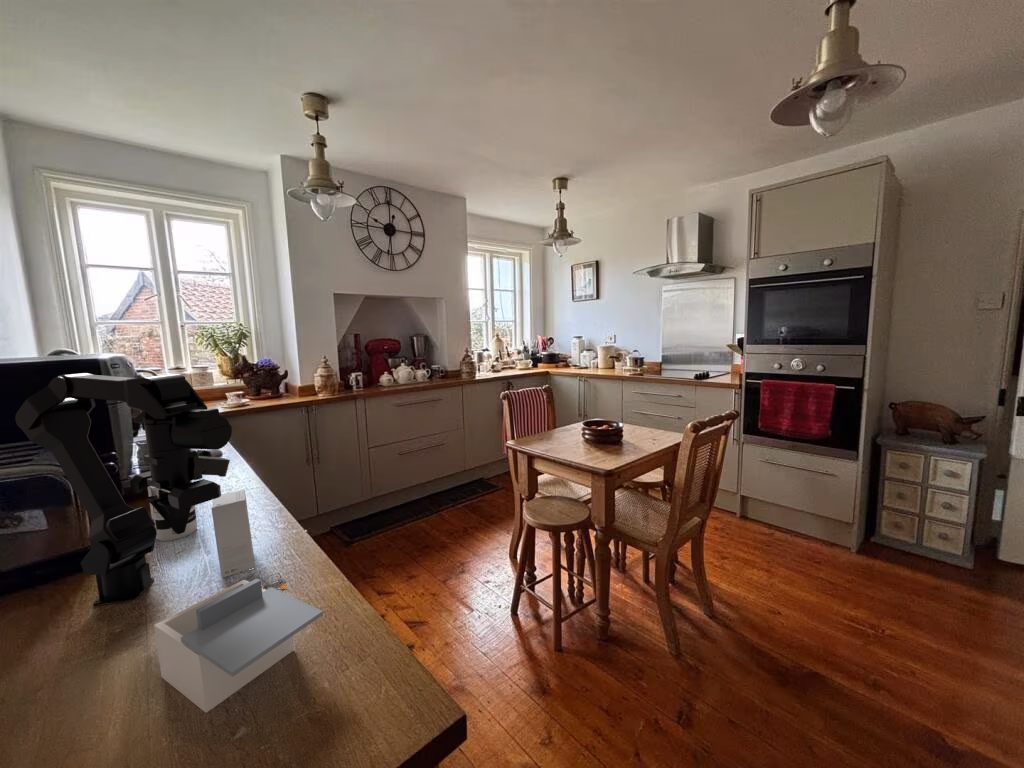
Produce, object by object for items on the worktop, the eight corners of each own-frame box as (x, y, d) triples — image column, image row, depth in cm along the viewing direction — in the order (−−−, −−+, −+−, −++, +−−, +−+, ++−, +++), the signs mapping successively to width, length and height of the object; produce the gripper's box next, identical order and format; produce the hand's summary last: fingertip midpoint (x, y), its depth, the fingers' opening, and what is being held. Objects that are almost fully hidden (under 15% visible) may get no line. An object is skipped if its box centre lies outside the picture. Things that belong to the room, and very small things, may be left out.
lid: (181, 641, 54) (178, 619, 54) (272, 591, 65) (270, 571, 64) (232, 676, 49) (229, 651, 48) (323, 614, 59) (321, 593, 59)
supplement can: (146, 539, 100) (138, 478, 98) (184, 524, 108) (177, 467, 106) (168, 544, 97) (159, 482, 95) (205, 529, 105) (198, 470, 103)
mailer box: (161, 677, 59) (154, 624, 58) (249, 624, 70) (244, 579, 69) (206, 713, 53) (198, 655, 52) (294, 649, 64) (289, 601, 63)
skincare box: (255, 569, 86) (247, 500, 84) (219, 579, 83) (210, 507, 81) (253, 552, 93) (246, 487, 91) (220, 560, 90) (212, 494, 88)
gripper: (248, 442, 75) (256, 525, 77) (195, 431, 84) (204, 506, 86) (174, 459, 65) (186, 553, 67) (123, 445, 74) (135, 529, 76)
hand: (180, 532), depth 75 cm, fingers closed
